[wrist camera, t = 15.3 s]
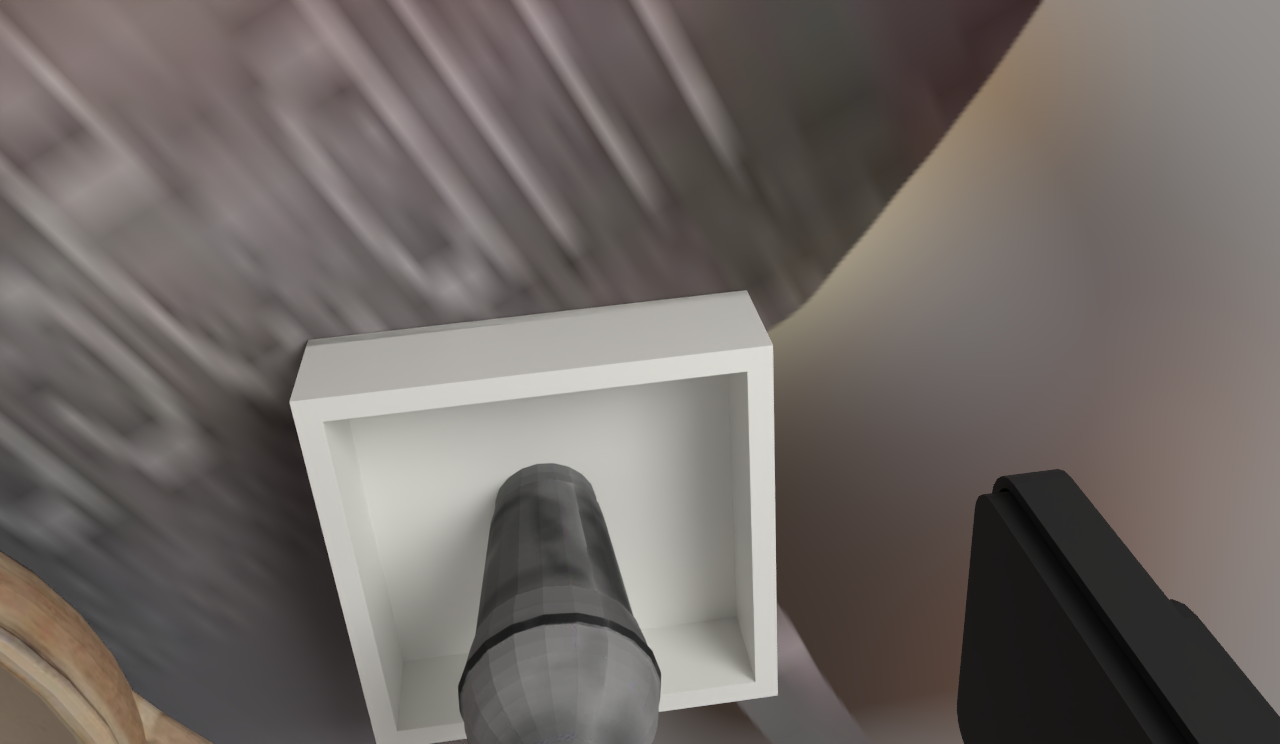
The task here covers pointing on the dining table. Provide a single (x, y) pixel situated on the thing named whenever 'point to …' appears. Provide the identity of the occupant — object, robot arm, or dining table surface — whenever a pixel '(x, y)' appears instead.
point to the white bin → (537, 434)
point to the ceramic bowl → (66, 675)
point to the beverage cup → (556, 625)
